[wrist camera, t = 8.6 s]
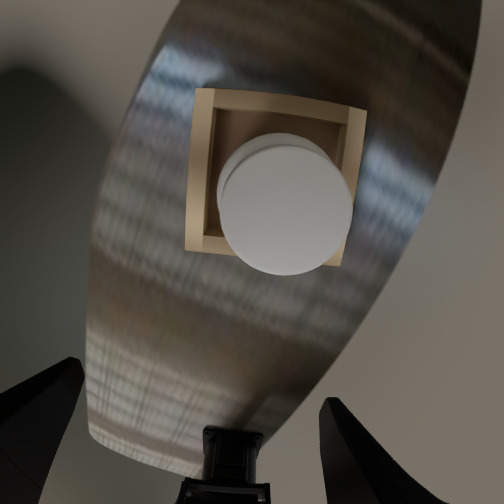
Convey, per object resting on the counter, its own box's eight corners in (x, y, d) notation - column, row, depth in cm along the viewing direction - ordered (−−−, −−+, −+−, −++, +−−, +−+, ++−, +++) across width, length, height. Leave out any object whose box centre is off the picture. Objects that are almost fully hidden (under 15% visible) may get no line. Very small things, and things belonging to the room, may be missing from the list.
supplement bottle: (214, 161, 16) (173, 182, 8) (287, 120, 15) (321, 100, 7) (256, 230, 17) (256, 310, 9) (326, 193, 16) (386, 244, 8)
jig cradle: (334, 256, 19) (343, 271, 16) (188, 240, 18) (179, 254, 16) (358, 110, 15) (372, 107, 13) (199, 89, 15) (190, 82, 13)
